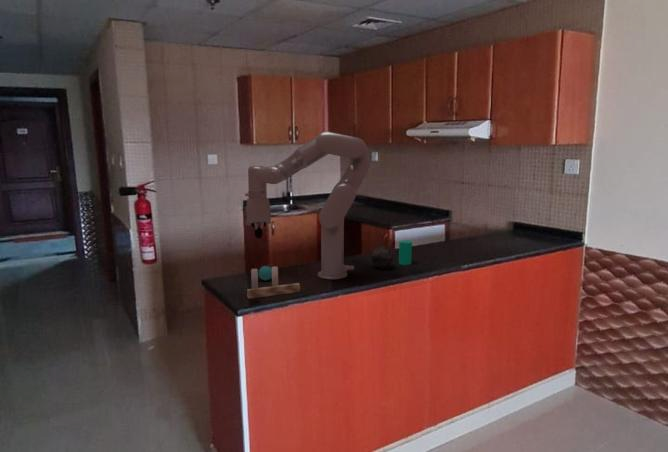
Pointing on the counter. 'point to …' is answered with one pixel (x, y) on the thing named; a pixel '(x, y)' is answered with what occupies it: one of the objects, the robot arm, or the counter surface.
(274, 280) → the cream pin
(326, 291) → the counter surface
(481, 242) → the counter surface
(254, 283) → the grey pin
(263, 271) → the ball
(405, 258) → the candle
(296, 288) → the oak rail
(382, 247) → the decorative stone
